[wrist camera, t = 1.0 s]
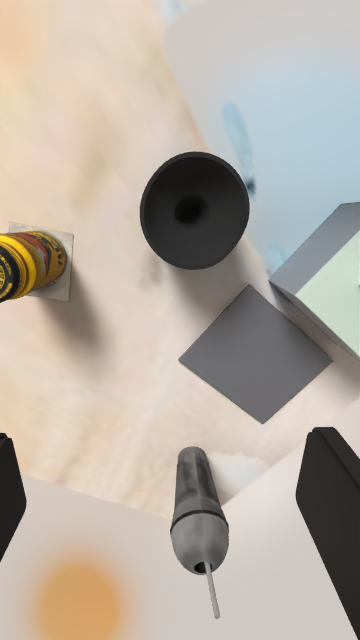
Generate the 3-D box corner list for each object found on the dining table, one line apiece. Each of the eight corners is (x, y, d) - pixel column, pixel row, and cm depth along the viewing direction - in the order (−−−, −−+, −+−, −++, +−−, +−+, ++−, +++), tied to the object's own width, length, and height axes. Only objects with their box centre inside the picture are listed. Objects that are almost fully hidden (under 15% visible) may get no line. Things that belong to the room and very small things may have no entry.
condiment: (73, 233, 34) (26, 240, 23) (69, 301, 37) (25, 337, 25) (9, 221, 33) (-73, 222, 22) (10, 291, 36) (-63, 324, 25)
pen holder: (233, 245, 35) (257, 255, 26) (159, 264, 35) (156, 280, 26) (218, 161, 32) (239, 137, 22) (137, 183, 32) (125, 168, 23)
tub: (340, 203, 34) (390, 199, 26) (406, 279, 37) (467, 294, 30) (268, 279, 37) (294, 295, 29) (335, 343, 40) (374, 372, 33)
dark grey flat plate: (249, 284, 37) (250, 284, 36) (331, 359, 41) (333, 361, 40) (178, 359, 40) (178, 360, 39) (261, 421, 44) (262, 424, 44)
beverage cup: (160, 461, 46) (155, 629, 27) (189, 431, 44) (205, 590, 25) (194, 481, 48) (212, 653, 29) (223, 454, 46) (262, 617, 27)
